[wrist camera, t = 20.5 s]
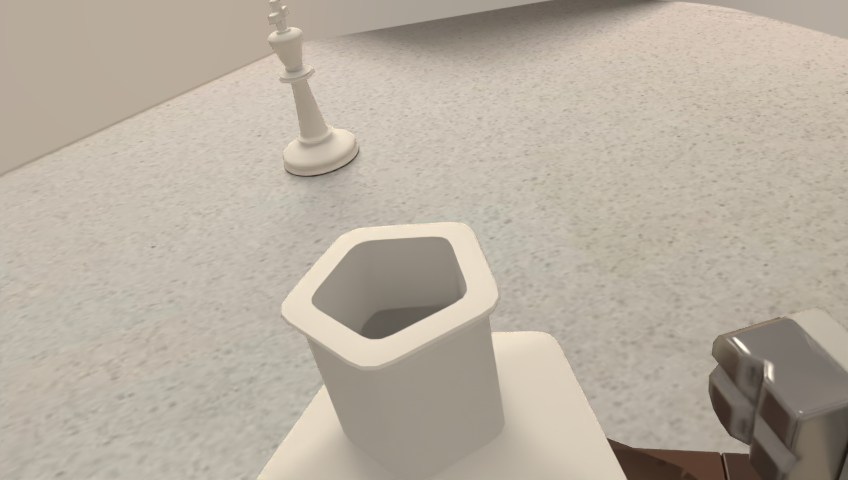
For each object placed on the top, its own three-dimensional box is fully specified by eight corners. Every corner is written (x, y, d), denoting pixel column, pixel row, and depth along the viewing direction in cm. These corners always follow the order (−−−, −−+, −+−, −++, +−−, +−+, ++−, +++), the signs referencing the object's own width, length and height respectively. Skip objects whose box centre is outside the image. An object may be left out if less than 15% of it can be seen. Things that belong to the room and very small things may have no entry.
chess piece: (271, 176, 41) (214, 19, 35) (302, 138, 45) (254, -10, 39) (343, 175, 39) (296, 10, 34) (368, 136, 43) (329, -19, 37)
